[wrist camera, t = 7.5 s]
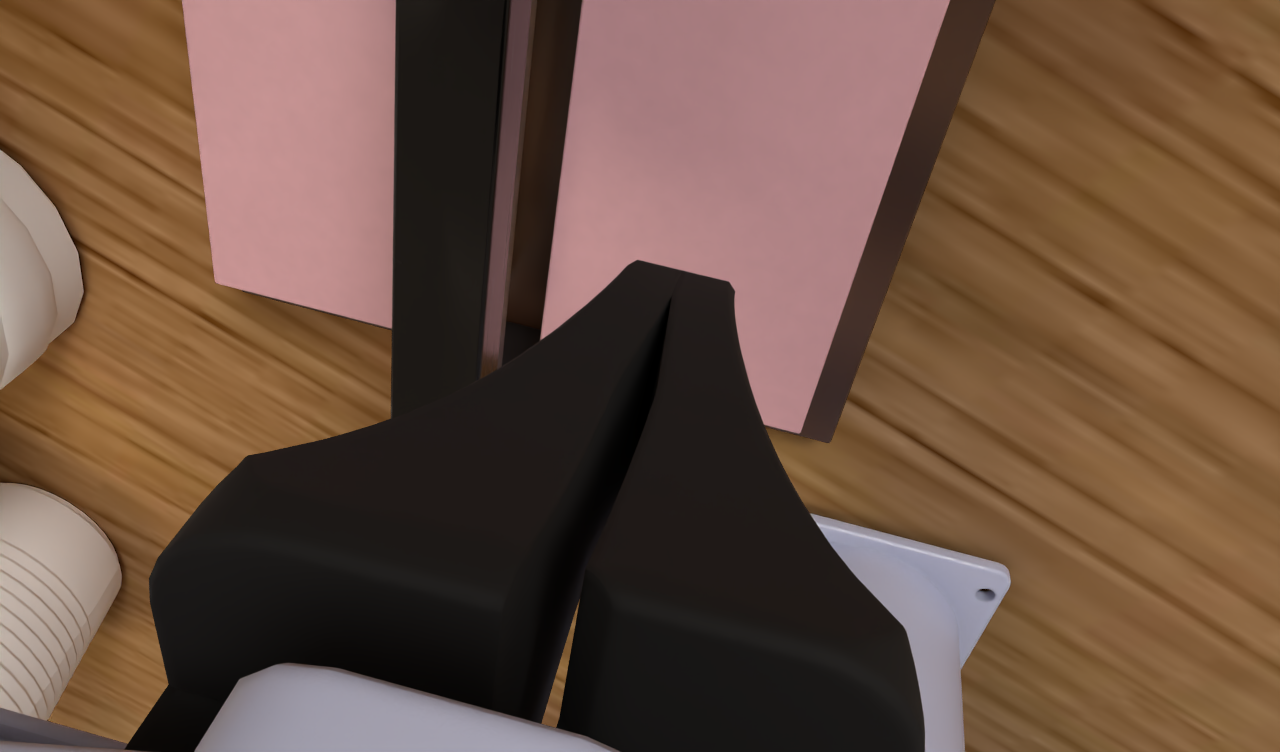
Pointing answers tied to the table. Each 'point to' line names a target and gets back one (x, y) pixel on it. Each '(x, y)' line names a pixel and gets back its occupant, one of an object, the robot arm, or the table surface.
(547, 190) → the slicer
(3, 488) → the cup
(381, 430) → the robot arm
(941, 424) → the table surface
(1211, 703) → the table surface
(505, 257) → the knife
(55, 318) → the bottle
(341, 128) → the pink sponge pad
